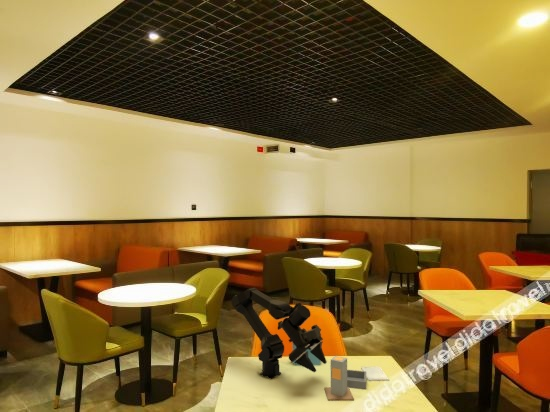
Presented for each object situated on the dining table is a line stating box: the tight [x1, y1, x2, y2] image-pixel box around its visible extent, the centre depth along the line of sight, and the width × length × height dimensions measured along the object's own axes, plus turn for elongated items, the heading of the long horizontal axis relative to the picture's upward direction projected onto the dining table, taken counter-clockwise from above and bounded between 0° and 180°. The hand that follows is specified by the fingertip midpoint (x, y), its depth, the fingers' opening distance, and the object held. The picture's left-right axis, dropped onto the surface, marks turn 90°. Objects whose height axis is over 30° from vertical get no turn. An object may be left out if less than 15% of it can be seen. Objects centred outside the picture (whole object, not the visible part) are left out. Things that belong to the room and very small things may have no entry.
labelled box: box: [330, 355, 348, 397], centre depth 139 cm, size 4×5×12 cm
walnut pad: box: [323, 386, 355, 402], centre depth 139 cm, size 9×9×1 cm
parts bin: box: [347, 369, 367, 390], centre depth 149 cm, size 10×10×3 cm
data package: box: [292, 343, 322, 366], centre depth 169 cm, size 12×4×12 cm, turn 86°
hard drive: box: [360, 366, 391, 382], centre depth 157 cm, size 2×8×12 cm
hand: (320, 367), depth 143 cm, fingers open, 9 cm apart
